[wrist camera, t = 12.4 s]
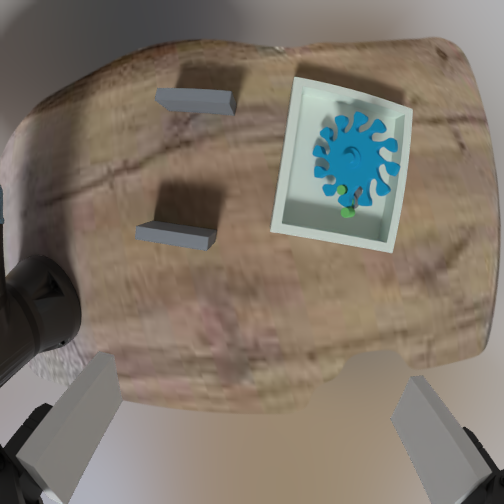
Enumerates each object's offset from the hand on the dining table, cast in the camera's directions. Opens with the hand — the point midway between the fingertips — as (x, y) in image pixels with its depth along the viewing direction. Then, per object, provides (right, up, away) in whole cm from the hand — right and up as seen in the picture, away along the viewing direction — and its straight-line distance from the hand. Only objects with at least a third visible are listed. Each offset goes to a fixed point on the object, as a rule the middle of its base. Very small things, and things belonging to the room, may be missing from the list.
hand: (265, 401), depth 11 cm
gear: (+10, +16, +20) cm, 27 cm away
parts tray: (+10, +16, +20) cm, 28 cm away
